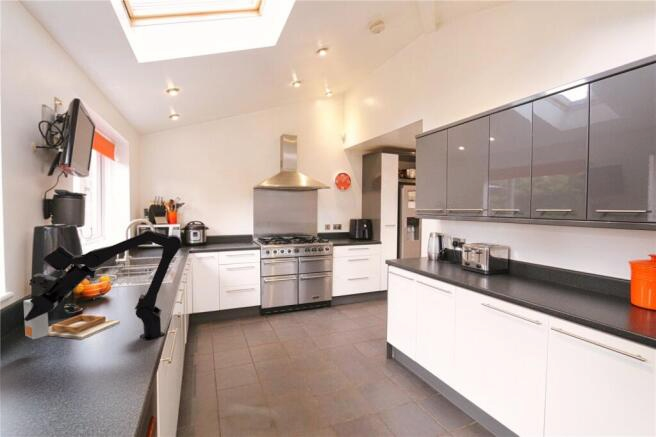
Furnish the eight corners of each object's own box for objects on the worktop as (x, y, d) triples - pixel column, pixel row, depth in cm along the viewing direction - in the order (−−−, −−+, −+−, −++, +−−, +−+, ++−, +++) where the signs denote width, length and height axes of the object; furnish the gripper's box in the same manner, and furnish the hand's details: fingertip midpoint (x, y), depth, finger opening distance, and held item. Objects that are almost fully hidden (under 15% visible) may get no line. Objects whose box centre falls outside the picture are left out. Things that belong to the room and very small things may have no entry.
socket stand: (119, 323, 131) (119, 315, 130) (82, 339, 115) (82, 330, 115) (77, 319, 135) (77, 311, 135) (36, 333, 120) (35, 325, 120)
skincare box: (24, 336, 103) (22, 300, 103) (41, 331, 107) (39, 297, 106) (32, 339, 100) (30, 303, 100) (49, 334, 104) (47, 299, 103)
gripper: (58, 260, 113) (19, 294, 108) (37, 270, 96) (-10, 311, 92) (86, 279, 116) (50, 313, 112) (70, 292, 100) (27, 332, 95)
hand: (30, 316), depth 103 cm, fingers closed on skincare box, 7 cm apart
